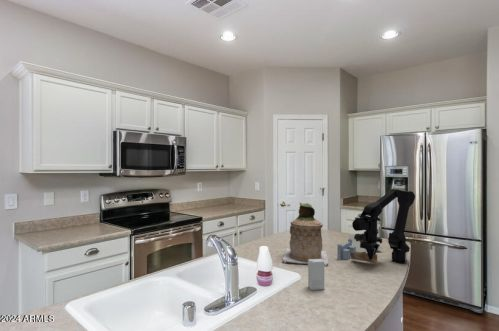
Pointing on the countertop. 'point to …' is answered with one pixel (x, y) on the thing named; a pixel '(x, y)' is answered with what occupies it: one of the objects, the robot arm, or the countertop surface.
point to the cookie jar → (305, 238)
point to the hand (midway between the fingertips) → (371, 258)
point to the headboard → (345, 250)
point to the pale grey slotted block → (359, 244)
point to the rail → (363, 257)
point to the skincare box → (316, 274)
